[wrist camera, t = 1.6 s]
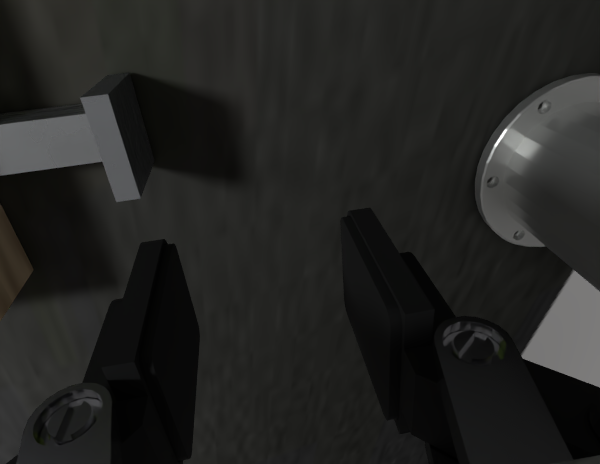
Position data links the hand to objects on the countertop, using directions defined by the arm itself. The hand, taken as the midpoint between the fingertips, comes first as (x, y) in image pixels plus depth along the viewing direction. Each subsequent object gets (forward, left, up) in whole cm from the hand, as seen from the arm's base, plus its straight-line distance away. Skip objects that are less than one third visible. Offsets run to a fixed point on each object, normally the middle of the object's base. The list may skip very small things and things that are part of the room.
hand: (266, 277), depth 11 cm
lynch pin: (+14, 0, -17) cm, 22 cm away
